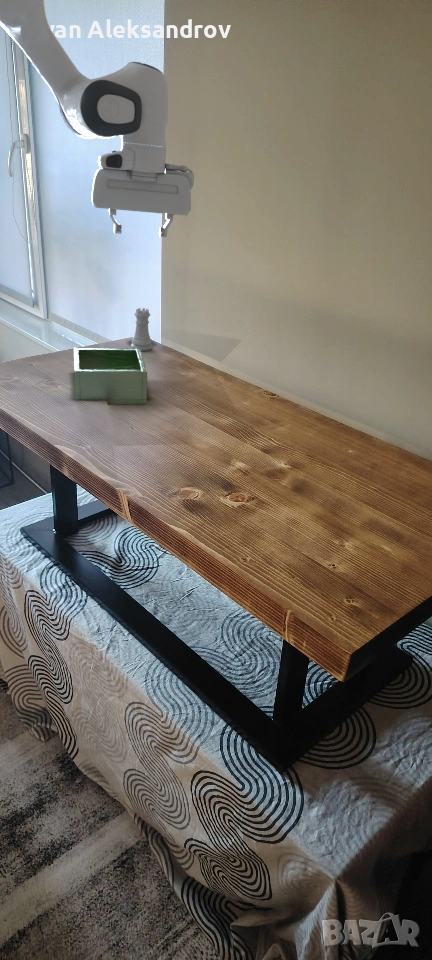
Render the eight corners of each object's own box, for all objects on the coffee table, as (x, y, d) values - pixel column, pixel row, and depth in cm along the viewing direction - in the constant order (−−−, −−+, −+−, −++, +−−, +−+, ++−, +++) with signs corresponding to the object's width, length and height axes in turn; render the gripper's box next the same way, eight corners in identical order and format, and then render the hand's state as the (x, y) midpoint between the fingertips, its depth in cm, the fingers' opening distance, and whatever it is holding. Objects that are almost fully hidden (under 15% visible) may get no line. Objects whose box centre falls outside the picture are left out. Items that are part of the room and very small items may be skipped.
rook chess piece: (127, 349, 129) (127, 310, 125) (136, 343, 133) (136, 305, 129) (147, 352, 128) (148, 313, 124) (155, 347, 132) (156, 309, 128)
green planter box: (75, 404, 102) (74, 371, 99) (74, 379, 112) (73, 347, 109) (146, 404, 105) (147, 371, 102) (139, 379, 114) (140, 348, 112)
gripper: (192, 165, 129) (187, 236, 136) (91, 155, 125) (91, 229, 132) (197, 167, 124) (191, 241, 130) (92, 156, 120) (91, 233, 126)
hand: (140, 235), depth 131 cm, fingers open, 8 cm apart
